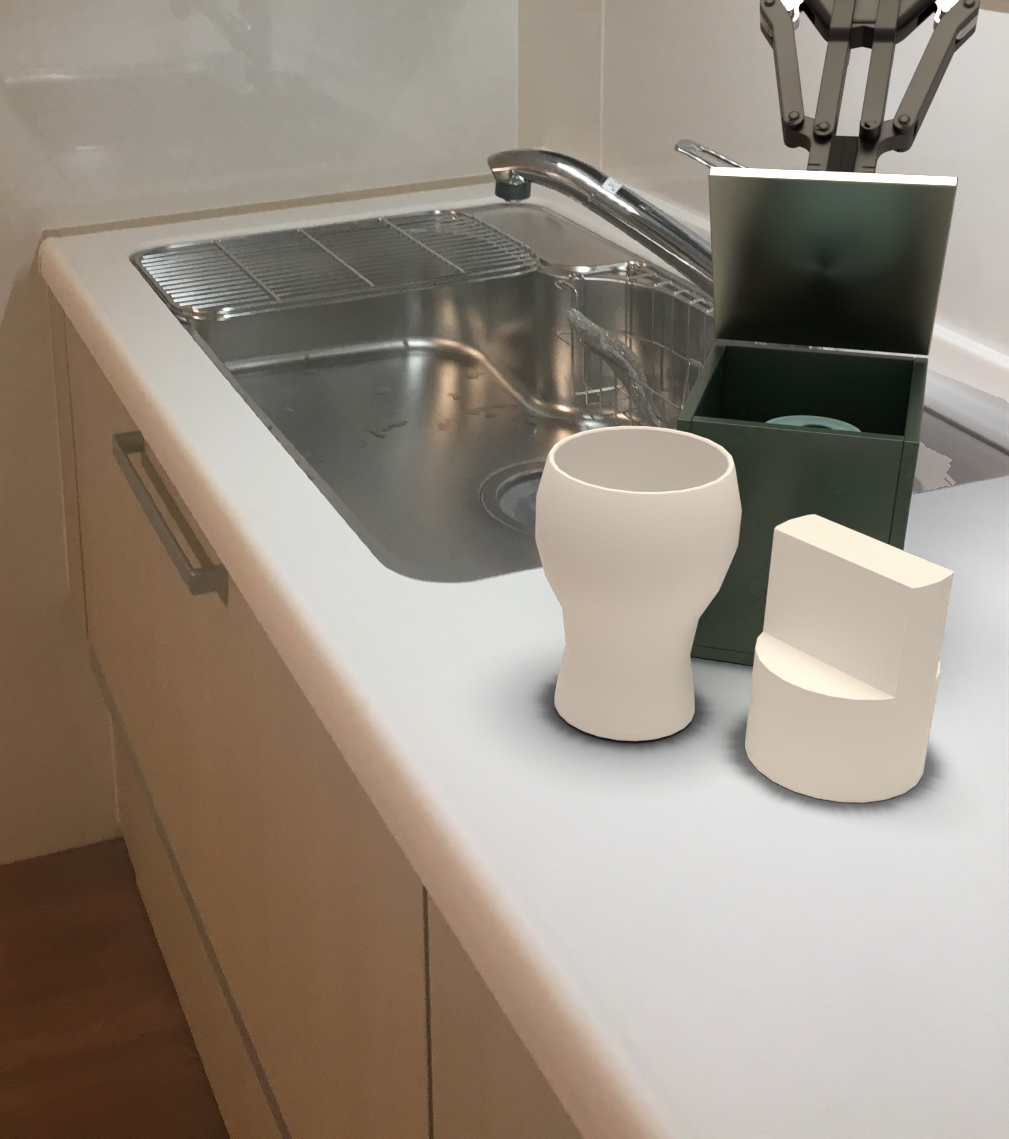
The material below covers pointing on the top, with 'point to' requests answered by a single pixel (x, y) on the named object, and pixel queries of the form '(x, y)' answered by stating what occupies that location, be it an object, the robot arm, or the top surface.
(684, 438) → the cup
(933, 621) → the base with upright slab
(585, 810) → the top surface
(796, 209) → the bin lid
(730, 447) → the bin
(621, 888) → the top surface
